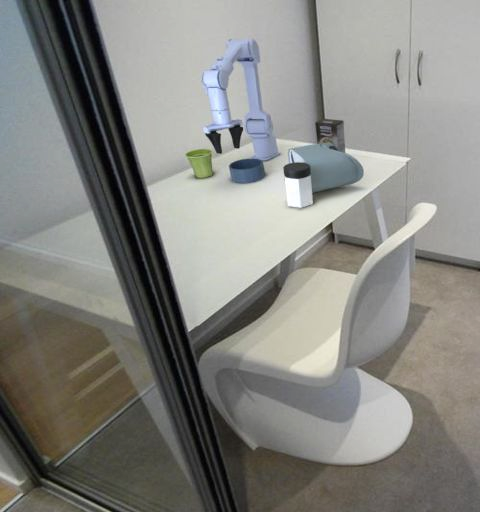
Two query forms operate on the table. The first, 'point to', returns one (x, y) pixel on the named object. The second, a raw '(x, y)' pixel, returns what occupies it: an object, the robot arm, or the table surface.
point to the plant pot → (200, 162)
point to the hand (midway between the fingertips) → (228, 150)
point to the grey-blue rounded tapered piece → (327, 165)
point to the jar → (298, 184)
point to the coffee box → (331, 133)
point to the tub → (247, 170)
